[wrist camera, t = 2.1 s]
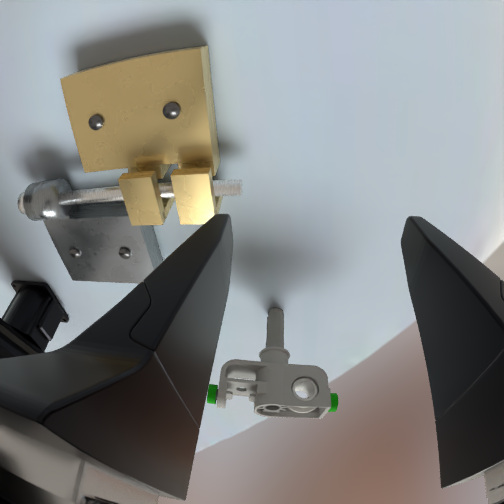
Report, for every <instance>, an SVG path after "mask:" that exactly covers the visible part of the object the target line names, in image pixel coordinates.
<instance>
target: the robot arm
mask: <svg viewBox="0 0 504 504" xmlns="http://www.w3.org/2000/svg"><path fill="white" fill-rule="evenodd" d="M401 248H402V253H403V259H404V264H405V270H406V276H407V282H408V287H409V292H410V296H411V300H412V303H413V307H414V311H415V315H416V319H417V324H418V327H419V332H420V337H421V341H422V345H423V350H424V355H425V360H426V365H427V371H428V376H429V382H430V388H431V393H432V400H433V407H434V414H435V420H436V421H435V423H436V432H437V441H438V451H439V463H440V478H441V488H442V489H443V488H447V487H450V486H454V485H457V484H460V483H463V482H467V481H470V480H473V479H476V478H478V477H481V476H484V478H485V486H486V496H487V498H488V502H489V504H504V281H503V280H500V278H499V277H498V276H497V275H496V274H494V273H493V272H492V271H491V270H490V269H489V268H487V267H486V266H485V265H484V264H482V263H481V262H480V261H479V260H478V259H476V258H475V257H474V256H473V255H471V254H470V253H469V252H468V251H466V250H465V249H464V248H462V247H461V246H460V245H459V244H457V243H456V242H455V241H453V240H452V239H451V238H449V237H448V236H447V235H445V234H444V233H443V232H441V231H440V230H439V229H437V228H436V227H435V226H433V225H432V224H430V223H429V222H428V221H426V220H425V219H423V218H422V217H419V216H409V217H408V218H407V220H406V223H405V227H404V231H403V234H402V238H401ZM232 249H233V235H232V226H231V218H230V215H229V214H215V215H214V216H213V217H211V218H210V219H209V220H208V221H207V222H206V223H205V224H204V225H202V226H201V227H200V228H199V229H198V230H197V231H196V232H195V233H194V234H192V235H191V236H190V237H189V238H188V239H187V240H186V241H185V242H184V243H183V244H181V245H180V246H179V247H178V248H177V249H176V250H175V251H174V252H173V253H172V254H171V255H169V256H168V257H167V258H166V259H165V260H164V261H163V262H162V263H161V264H160V265H159V266H158V267H157V268H156V269H154V270H153V271H152V272H151V273H150V274H149V275H148V276H147V277H146V278H145V279H144V280H143V281H144V282H141V283H139V284H138V285H137V286H136V287H135V288H134V289H133V290H132V291H131V292H130V293H129V294H128V295H127V296H126V297H124V298H123V299H122V300H121V301H120V302H119V303H118V304H117V305H115V306H114V307H113V308H112V309H111V310H109V311H108V312H107V313H106V314H105V315H103V316H102V317H101V318H100V319H98V320H97V321H96V322H95V323H94V324H92V325H91V326H90V327H89V328H87V329H86V330H85V331H84V332H83V333H81V334H80V335H79V336H78V337H76V338H75V339H74V340H73V341H71V342H70V343H69V344H67V345H66V346H64V347H62V348H60V349H58V350H55V351H52V352H47V353H45V352H44V351H45V349H46V347H47V345H48V342H49V341H51V340H52V338H53V336H54V334H55V332H56V330H57V327H58V325H59V323H60V322H68V321H69V318H68V316H67V315H66V313H65V312H64V310H63V309H62V307H61V305H60V304H59V302H58V301H57V299H56V298H55V296H54V294H53V293H52V291H51V289H50V288H49V286H48V285H47V284H45V283H36V282H24V281H13V282H12V283H11V285H12V287H13V288H14V290H15V291H16V295H15V296H14V298H13V300H12V301H11V303H10V305H9V306H8V308H7V310H6V312H5V313H4V315H3V317H2V319H1V318H0V504H157V503H158V497H159V496H162V497H167V498H173V499H178V500H184V501H185V500H186V495H187V490H188V485H189V480H190V475H191V470H192V464H193V459H194V455H195V450H196V445H197V440H198V435H199V428H200V425H201V420H202V415H203V410H204V405H205V400H206V396H207V391H208V386H209V381H210V376H211V372H212V367H213V362H214V357H215V353H216V348H217V343H218V339H219V334H220V329H221V325H222V320H223V315H224V311H225V306H226V302H227V297H228V292H229V284H230V273H231V261H232Z"/></svg>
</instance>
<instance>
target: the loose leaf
mask: <svg viewBox="0 0 504 504" xmlns="http://www.w3.org/2000/svg"><path fill="white" fill-rule="evenodd" d="M60 80H61V85H62V89H63V94H64V98H65V103H66V107H67V111H68V115H69V119H70V123H71V127H72V130H73V134H74V138H75V141H76V145H77V148H78V152H79V155H80V158H81V162H82V165H83V168H84V171H85V173H87V172H95V171H103V170H111V169H120V168H128V171H129V173H124V174H122V175H121V177H120V178H119V179H118V182H119V186H120V189H121V192H122V196H123V199H124V202H125V206H126V209H127V212H128V215H129V219H130V222H131V225H132V226H137V225H163V223H164V221H165V219H166V217H167V215H168V213H169V210H170V208H171V206H172V204H173V202H174V200H176V205H177V210H178V214H179V219H180V223H181V224H205V223H206V222H207V221H208V220H209V219H210V218H211V217H213V216H214V215H215V214H218V213H219V209H220V205H221V202H222V198H223V196H215V194H214V187H213V179H212V176H215V175H216V172H217V170H218V167H219V164H220V157H219V148H218V139H217V130H216V121H215V111H214V102H213V92H212V82H211V72H210V62H209V52H208V45H207V46H199V47H191V48H183V49H176V50H170V51H164V52H158V53H153V54H147V55H142V56H137V57H133V58H128V59H124V60H119V61H115V62H111V63H107V64H103V65H99V66H96V67H92V68H88V69H85V70H82V71H78V72H75V73H73V74H71V75H68V76H66V77H64V78H61V79H60ZM177 163H178V168H179V169H174V170H173V172H172V174H171V181H172V186H173V191H174V196H175V198H161V194H160V190H159V185H158V181H157V179H163V177H164V175H165V174H166V172H167V170H168V169H169V167H170V166H171V164H177Z"/></svg>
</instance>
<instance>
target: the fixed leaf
mask: <svg viewBox="0 0 504 504" xmlns="http://www.w3.org/2000/svg"><path fill="white" fill-rule="evenodd" d="M158 185H159V190H160V194H161V198H175V196H174V191H173V186H172V182H168V183H158ZM213 187H214V194H215V196H241V195H242V181H241V180H213ZM109 201H124V199H123V196H122V192H121V189H120V186H114V187H104V188H93V189H84V190H75V191H72V189H71V187H70V185H69V183H68V182H67V181H66V180H64V179H56V180H49V181H43V182H37V183H32V184H30V185H29V186H28V187H27V188H26V190H25V192H23V193H21V194H20V196H19V198H18V208H19V210H20V212H21V213H23V214H26V215H27V216H28V218H29V219H31V220H34V221H37V220H43V221H44V223H45V226H46V228H47V230H48V232H49V234H50V236H51V238H52V241H53V243H54V245H55V247H56V249H57V251H58V253H59V255H60V257H61V259H62V261H63V263H64V265H65V267H66V268H67V270H68V272H69V274H70V276H71V278H72V280H76V281H96V282H117V283H141V282H144V281H143V280H144V279H145V278H146V277H147V276H148V275H149V274H150V273H151V272H152V271H153V270H154V269H156V268H157V267H158V266H159V265H160V264H161V263H162V262H163V260H162V256H161V253H160V250H159V246H158V243H157V240H156V236H155V233H154V229H153V226H152V225H137V226H132V225H131V222H130V219H129V215H128V212H127V209H126V206H125V202H114V203H100V204H87V205H81V204H83V203H96V202H109Z"/></svg>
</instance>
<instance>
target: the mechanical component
mask: <svg viewBox="0 0 504 504" xmlns="http://www.w3.org/2000/svg"><path fill="white" fill-rule="evenodd" d="M259 357H260V359H261V362H258V361H248V360H238V359H234V360H230V361H228V362H226V363H225V364H224V365H223V366H222V369H221V374H220V381H219V389H217V388H218V385H213V384H209V388H208V395H207V403H212V404H216V400H217V407H219V408H225V405H226V399H232V395H237V396H247V397H249V401H251V402H254V405H255V406H254V413H256V414H258V415H260V416H264V417H286V418H318V419H320V418H321V419H322V418H323V417H324V415H325V414H326V413H327V412H335V411H336V410H337V406H338V395H337V394H336V393H330V388H329V387H328V377H327V374H326V373H325V371H324V370H323V369H321V368H320V367H317V366H312V365H295V364H288V359H289V357H290V354H289V352H288V351H287V350H286V349H284V314H283V310H281V309H278V308H273V309H270V311H269V314H268V317H267V340H266V348H265V349H263V350H262V351H261V352H260V354H259ZM234 378H243V379H253V380H255V381H253V380H243V379H234ZM238 387H243V388H238ZM295 391H303V392H305V393H306V394H307V395H308V398H301V397H299V396H298V395H297V394H296V392H295Z"/></svg>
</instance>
